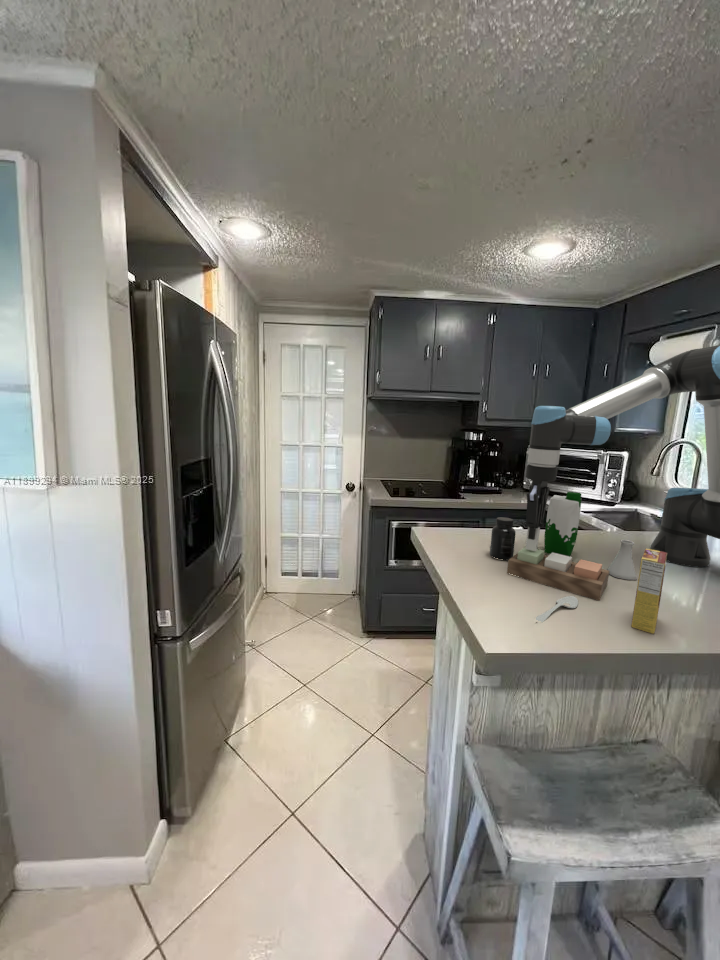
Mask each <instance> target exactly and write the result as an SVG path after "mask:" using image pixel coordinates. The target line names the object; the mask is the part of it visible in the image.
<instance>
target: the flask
mask: <svg viewBox="0 0 720 960" xmlns="http://www.w3.org/2000/svg"><path fill="white" fill-rule="evenodd" d="M634 545H635V542H634V541H632V540H628V539H620V548H619V549H618V552H617V554H616V556H615V557H614V559H613V560H612V561H611V563H610V564H609V566H608V568H606V570H608V571H609V576H612V577H614V578H617V579H622V580H627V581H628V580H629V581H633V580H637V581H638V578H637V572H636V570H635V565H634V561H633V551H632V550H633V546H634Z"/></svg>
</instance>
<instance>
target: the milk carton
mask: <svg viewBox="0 0 720 960" xmlns="http://www.w3.org/2000/svg"><path fill="white" fill-rule="evenodd" d="M581 507H582V493H581V492H577V491H567V492H566V495H557V494H554V495H553V496H552V497H550V498H549V502H548V507H547V514H546V519H545V520H546V522H545V529H544V530H545V531H544V536H543V537H544V538H543V539H544V540H543V541H544V542H543V543H544V548H543V549H544V554H548V555H550V554H551V553H552V552H553V553H557V554H561V555H565V556H569V557H571V555H572V554H573V552H574V548H575V545H576V542H577V539H578V532H579V531H578V530H579V524H580V517H581V510H582V509H581Z"/></svg>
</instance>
